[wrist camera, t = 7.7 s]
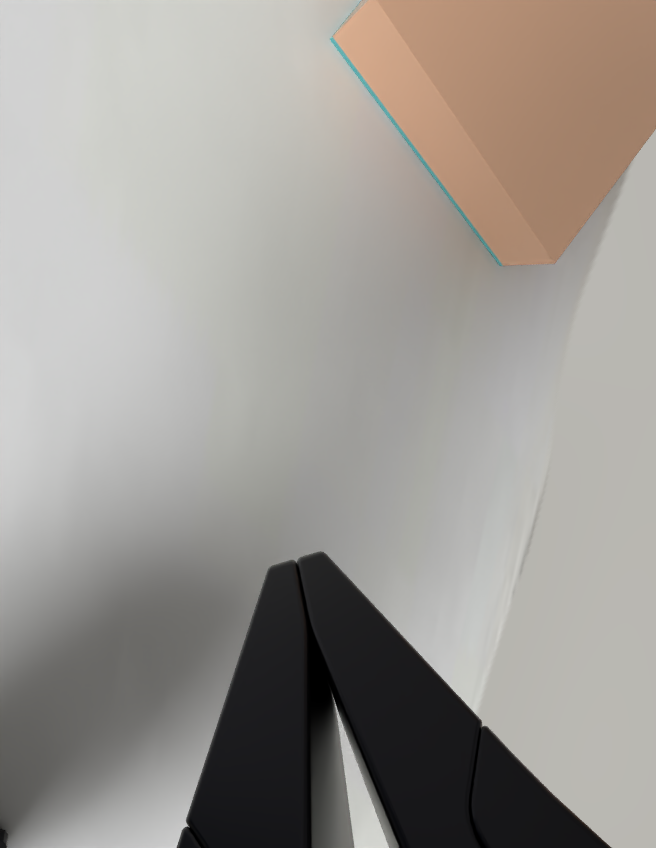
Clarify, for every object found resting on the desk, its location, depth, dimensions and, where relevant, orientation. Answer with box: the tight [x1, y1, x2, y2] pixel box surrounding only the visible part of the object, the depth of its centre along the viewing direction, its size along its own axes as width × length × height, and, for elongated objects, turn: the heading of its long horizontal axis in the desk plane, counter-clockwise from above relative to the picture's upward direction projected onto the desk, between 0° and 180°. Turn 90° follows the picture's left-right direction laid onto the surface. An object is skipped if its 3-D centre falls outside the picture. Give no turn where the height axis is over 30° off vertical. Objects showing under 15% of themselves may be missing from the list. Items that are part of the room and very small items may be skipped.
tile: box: [330, 0, 656, 266], centre depth 18 cm, size 3×10×9 cm
